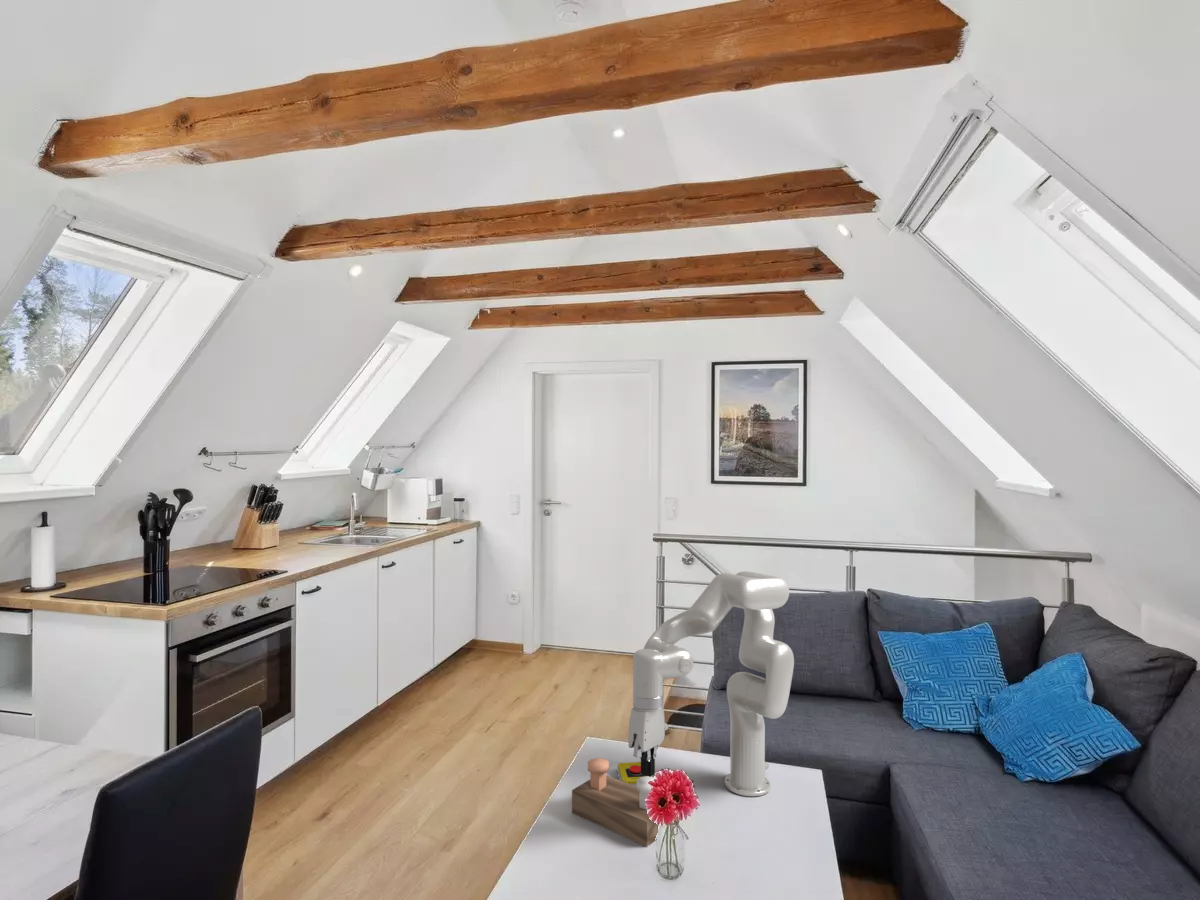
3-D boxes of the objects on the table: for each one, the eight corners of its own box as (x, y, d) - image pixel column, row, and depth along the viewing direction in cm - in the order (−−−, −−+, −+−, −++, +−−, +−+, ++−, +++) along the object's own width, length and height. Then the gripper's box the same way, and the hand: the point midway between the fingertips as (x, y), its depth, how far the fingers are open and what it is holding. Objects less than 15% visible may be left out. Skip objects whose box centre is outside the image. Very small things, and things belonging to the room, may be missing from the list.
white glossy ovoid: (645, 803, 173) (645, 774, 173) (663, 811, 169) (663, 781, 169) (632, 813, 169) (632, 782, 168) (650, 820, 165) (650, 789, 165)
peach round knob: (596, 784, 183) (596, 756, 183) (613, 790, 179) (613, 762, 179) (583, 792, 179) (583, 763, 179) (599, 799, 175) (599, 770, 175)
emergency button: (623, 780, 187) (615, 755, 202) (623, 796, 187) (615, 770, 202) (656, 778, 188) (646, 754, 203) (656, 794, 188) (646, 768, 203)
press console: (600, 794, 186) (600, 772, 186) (674, 825, 171) (674, 801, 171) (571, 812, 177) (571, 789, 177) (647, 847, 162) (647, 822, 162)
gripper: (652, 689, 177) (652, 759, 177) (617, 705, 165) (617, 780, 165) (676, 695, 172) (676, 767, 172) (642, 713, 161) (642, 790, 161)
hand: (647, 774), depth 169 cm, fingers closed
